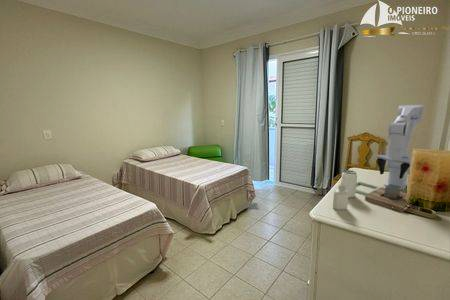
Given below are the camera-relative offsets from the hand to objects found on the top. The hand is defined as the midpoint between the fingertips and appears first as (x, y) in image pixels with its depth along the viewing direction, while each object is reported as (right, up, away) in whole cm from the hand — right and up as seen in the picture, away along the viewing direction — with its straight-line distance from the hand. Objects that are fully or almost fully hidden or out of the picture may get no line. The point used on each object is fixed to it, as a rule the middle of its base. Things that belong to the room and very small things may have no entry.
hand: (391, 176), depth 100 cm
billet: (-4, -11, -5) cm, 12 cm away
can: (-20, -10, +2) cm, 22 cm away
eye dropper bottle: (-31, -13, -11) cm, 35 cm away
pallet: (-4, -11, -5) cm, 12 cm away
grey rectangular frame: (-8, -8, +9) cm, 14 cm away
